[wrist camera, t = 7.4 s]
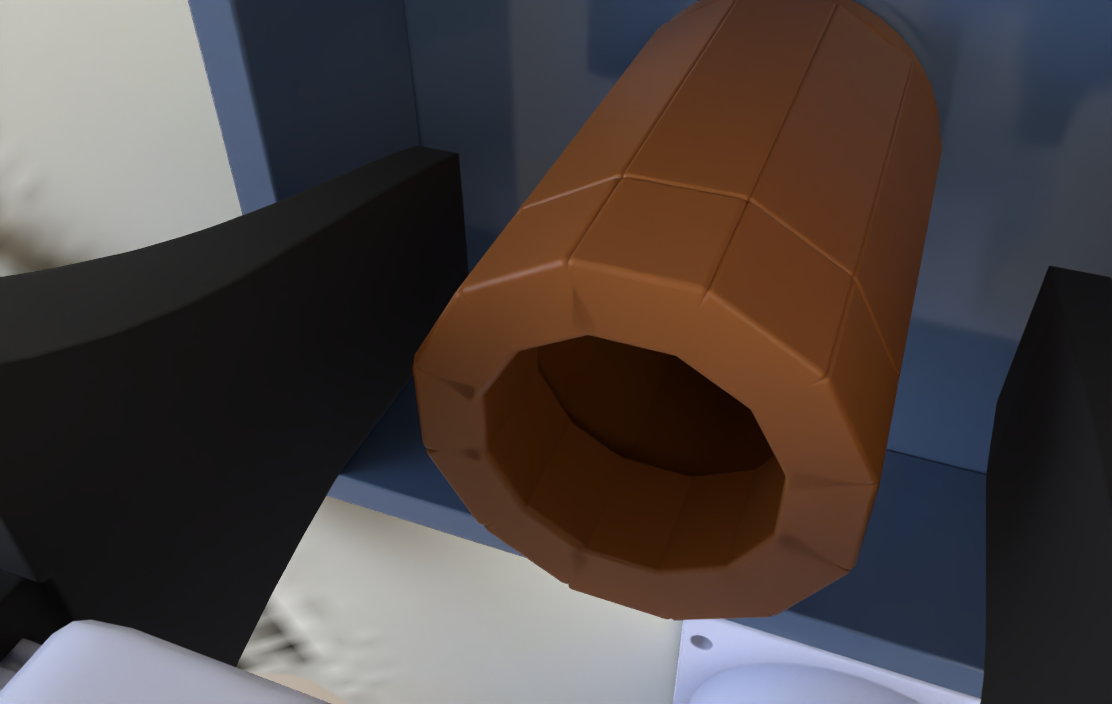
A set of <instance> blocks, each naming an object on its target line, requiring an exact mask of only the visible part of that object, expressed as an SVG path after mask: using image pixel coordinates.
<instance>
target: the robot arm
mask: <svg viewBox="0 0 1112 704" xmlns="http://www.w3.org/2000/svg"><path fill="white" fill-rule="evenodd" d="M468 275H469V270H468V258H467V246H466V233H465V221H464V209H463V197H462V184H461V172H460V160H459V153H454V152H449V151H444V150H438V149H433V148H428V147H423V146H415V147H411V148H408V149H405V150H402V151H399V152H396V153H393V154H391V155H388V156H386V157H383V158H381V159H378V160H376V161H373V162H371V163H368V164H366V165H364V166H361V167H359V168H357V169H354V170H352V171H350V172H347V173H345V174H343V175H340V176H338V177H336V178H333V179H331V180H329V181H326V182H324V183H322V184H319V185H317V186H314V187H312V188H310V189H307V190H305V191H303V192H300V193H298V194H296V195H293V196H291V197H289V198H286V199H284V200H281V201H279V202H276V203H273V204H271V205H268V206H266V207H263V208H260V209H258V210H255V211H253V212H250V213H247V214H245V215H242V216H240V217H237V218H234V219H232V220H229V221H227V222H224V223H221V224H219V225H216V226H213V227H210V228H207V229H204V230H201V231H198V232H195V233H192V234H189V235H186V236H183V237H179V238H176V239H172V240H169V241H166V242H162V243H159V244H155V245H152V246H148V247H145V248H141V249H137V250H134V251H130V252H126V253H121V254H117V255H112V256H108V257H103V258H99V259H94V260H89V261H85V262H80V263H76V264H71V265H67V266H62V267H58V268H53V269H47V270H42V271H36V272H30V273H23V274H17V275H11V276H5V277H0V704H331V703H328V702H325V701H323V700H320V699H317V698H315V697H312V696H309V695H307V694H304V693H302V692H299V691H296V690H294V689H291V688H289V687H286V686H283V685H281V684H278V683H275V682H273V681H270V680H267V679H265V678H262V677H260V676H257V675H254V674H252V673H249V672H246V671H244V670H241V669H239V668H236V666H237V663H238V661H239V659H240V657H241V655H242V653H243V651H244V649H245V647H246V645H247V643H248V641H249V639H250V637H251V635H252V633H253V631H254V629H255V627H256V625H257V623H258V621H259V619H260V617H261V615H262V613H263V611H264V609H265V607H266V605H267V603H268V601H269V599H270V597H271V595H272V592H273V591H274V589H275V587H276V585H277V583H278V581H279V580H280V578H281V576H282V574H283V572H284V570H285V568H286V567H287V565H288V563H289V561H290V559H291V557H292V555H293V554H294V552H295V550H296V548H297V546H298V544H299V542H300V541H301V539H302V537H303V535H304V533H305V532H306V530H307V528H308V526H309V525H310V523H311V521H312V520H313V518H314V516H315V514H316V513H317V511H318V509H319V507H320V506H321V504H322V502H323V501H324V499H325V497H326V495H327V494H328V492H329V490H330V489H331V487H332V485H333V483H334V482H335V480H336V478H337V477H338V475H339V474H340V472H341V471H342V470H343V468H344V467H345V465H346V464H347V462H348V461H349V459H350V458H351V456H352V455H353V453H354V452H355V451H356V449H357V448H358V447H359V445H360V444H361V443H362V441H363V440H364V439H365V437H366V436H367V435H368V433H369V432H370V431H371V429H372V428H373V427H374V425H375V424H376V423H377V421H378V420H379V419H380V417H381V416H382V415H383V413H384V412H385V411H386V409H387V408H388V407H389V405H390V404H391V403H392V401H393V400H394V399H395V397H396V396H397V395H398V393H399V392H400V391H401V389H402V388H403V387H404V385H405V384H406V383H407V381H408V380H409V379H410V377H411V376H412V375H413V370H412V368H413V363H414V356H415V353H416V352H417V350H418V349H419V347H420V346H421V344H422V343H423V341H424V340H425V338H426V337H427V335H428V334H429V332H430V331H431V329H432V328H433V326H434V324H435V323H436V321H437V320H438V318H439V317H440V315H441V314H442V312H443V311H444V309H445V308H446V306H447V305H448V303H449V302H450V300H451V299H452V297H453V295H454V294H455V292H456V291H457V290H458V288H459V287H460V286H461V284H462V283H463V282H464V281H465V279H466V278H467V277H468ZM673 704H1112V280H1111V278H1110V277H1107V276H1102V275H1097V274H1092V273H1086V272H1081V271H1076V270H1070V269H1065V268H1060V267H1055V266H1049V267H1048V270H1047V272H1046V275H1045V277H1044V280H1043V283H1042V285H1041V288H1040V290H1039V293H1038V296H1037V298H1036V301H1035V303H1034V306H1033V309H1032V311H1031V314H1030V317H1029V319H1028V322H1027V324H1026V327H1025V330H1024V332H1023V335H1022V337H1021V340H1020V343H1019V345H1018V348H1017V350H1016V353H1015V356H1014V358H1013V361H1012V364H1011V366H1010V369H1009V371H1008V374H1007V377H1006V379H1005V382H1004V384H1003V387H1002V390H1001V392H1000V395H999V397H998V400H997V404H996V411H995V417H994V424H993V430H992V437H991V443H990V451H989V458H988V465H987V472H986V642H985V661H984V677H983V686H982V694H981V699H979V698H975V697H972V696H969V695H966V694H962V693H959V692H956V691H953V690H950V689H946V688H943V687H940V686H937V685H934V684H930V683H927V682H924V681H921V680H917V679H914V678H911V677H908V676H905V675H901V674H898V673H895V672H892V671H888V670H885V669H882V668H879V667H876V666H872V665H869V664H866V663H863V662H860V661H856V660H853V659H850V658H847V657H843V656H840V655H837V654H834V653H831V652H827V651H824V650H821V649H818V648H814V647H811V646H808V645H805V644H802V643H798V642H795V641H792V640H789V639H786V638H782V637H779V636H776V635H773V634H769V633H766V632H763V631H760V630H757V629H753V628H750V627H747V626H744V625H740V624H737V623H734V622H731V621H728V620H724V619H702V620H683V625H682V633H681V641H680V649H679V657H678V665H677V673H676V681H675V689H674V697H673Z"/></svg>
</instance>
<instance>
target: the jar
mask: <svg viewBox="0 0 1112 704" xmlns="http://www.w3.org/2000/svg"><path fill="white" fill-rule="evenodd" d="M941 153H942V139H941V136H940V123H939V114H938V107H937V103H936V100H935V96H934V92H933V89H932V86H931V84H930V81H929V79H928V77H927V75H926V72H925V70H924V68H923V66H922V65H921V63H920V62H919V60H918V58H917V57H916V55H915V54H914V52H913V51H912V49H911V48H910V47H909V46H908V44H907V43H906V42H905V41H904V40H903V39H902V37H901V36H900V35H899V34H898V33H897V32H896V31H895V30H894V29H893V28H892V27H890V26H889V25H888V24H887V23H886V22H885V21H884V20H883V19H881V18H880V17H879V16H877V15H876V14H874V13H873V12H871V11H870V10H868V9H867V8H865V7H864V6H862V5H860V4H858V3H856V2H854V1H852V0H699V1H698V2H696V3H694V4H692V5H690V6H689V7H687V8H686V9H684V10H683V11H682V12H680V13H679V14H677V15H676V16H675V17H673V18H672V19H671V20H670V21H669V22H667V23H665V24H663V25H662V26H661V27H660V28H658V29H657V30H656V32H655V33H654V34H653V36H652V37H651V38H650V39H649V41H648V42H647V43H646V45H645V46H644V47H643V49H642V50H641V51H640V53H639V54H638V55H637V56H636V58H635V59H634V60H633V62H632V63H631V64H630V66H629V67H628V68H627V69H626V71H625V72H624V73H623V75H622V76H621V77H620V79H619V80H618V81H617V82H616V84H615V85H614V86H613V88H612V89H611V90H610V92H609V93H608V94H607V95H606V97H605V98H604V99H603V101H602V102H601V103H600V105H599V106H598V107H597V108H596V110H595V111H594V112H593V114H592V115H591V116H590V118H589V119H588V120H587V121H586V123H585V124H584V125H583V127H582V128H581V129H580V131H579V132H578V133H577V134H576V136H575V137H574V138H573V140H572V141H571V142H570V144H569V145H568V146H567V147H566V149H565V150H564V151H563V153H562V154H561V155H560V157H559V158H558V159H557V160H556V162H555V163H554V164H553V166H552V167H551V168H550V170H549V171H548V172H547V174H546V175H545V176H544V177H543V179H542V180H541V181H540V183H539V184H538V185H537V187H536V188H535V189H534V190H533V192H532V193H531V194H530V196H529V197H528V198H527V200H526V201H525V202H524V203H523V205H522V206H521V207H520V209H519V210H518V212H517V213H516V215H515V216H514V217H513V218H512V219H511V221H510V222H509V223H508V225H507V226H506V227H505V229H504V230H503V231H502V232H501V234H500V235H499V236H498V238H497V239H496V240H495V242H494V243H493V244H492V245H491V247H490V248H489V249H488V251H487V252H486V253H485V255H484V256H483V257H482V258H481V260H480V261H479V262H478V264H477V265H476V266H475V268H474V269H473V270H472V271H471V273H470V274H469V275H468V277H467V278H466V279H465V281H464V282H463V283H462V284H461V286H460V287H459V288H458V290H457V291H456V292H455V294H454V295H453V297H452V299H451V300H450V302H449V303H448V305H447V306H446V308H445V309H444V311H443V312H442V314H441V315H440V317H439V318H438V320H437V321H436V323H435V324H434V326H433V328H432V329H431V331H430V332H429V334H428V335H427V337H426V338H425V340H424V341H423V343H422V344H421V346H420V347H419V349H418V350H417V352H416V353H415V356H414V363H413V368H412V370H413V377H414V384H415V391H416V398H417V406H418V413H419V420H420V427H421V434H422V441H423V444H424V446H425V447H427V448H426V451H427V454H428V455H429V456H430V458H431V459H432V461H433V462H434V463H435V465H436V466H437V467H438V469H439V470H440V472H441V473H442V474H443V476H444V477H445V478H446V480H447V481H448V483H449V484H450V485H451V487H452V488H453V489H454V491H455V492H456V494H457V495H458V496H459V498H460V499H461V500H462V502H463V503H464V505H465V506H466V507H467V509H468V510H469V511H470V513H471V514H472V516H473V517H474V518H475V520H476V521H477V522H478V523H479V524H481V525H485V526H484V527H485V528H486V530H487V531H488V532H490V533H491V534H493V535H494V536H495V537H497V538H498V539H500V540H501V541H503V542H504V543H506V544H507V545H509V546H510V547H511V548H513V549H514V550H516V551H517V552H519V553H520V554H522V555H523V556H525V557H526V558H527V559H529V560H530V561H532V562H533V563H535V564H536V565H538V566H539V567H541V568H542V569H543V570H545V571H546V572H548V573H549V574H551V575H552V576H554V577H555V578H557V579H558V580H559V581H561V582H563V583H566V584H569V588H571V589H573V590H576V591H579V592H582V593H585V594H588V595H592V596H595V597H598V598H601V599H604V600H607V601H611V602H614V603H617V604H620V605H623V606H626V607H630V608H633V609H636V610H639V611H642V612H645V613H649V614H652V615H655V616H658V617H661V618H664V619H670V618H671V619H673V620H702V619H734V618H765V617H771V616H772V615H778V614H780V613H781V612H783V611H785V610H786V609H788V608H790V607H792V606H793V605H795V604H797V603H798V602H800V601H802V600H804V599H805V598H807V597H809V596H811V595H812V594H814V593H816V592H817V591H819V590H821V589H823V588H824V587H826V586H828V585H830V584H831V583H833V582H835V581H836V580H838V579H840V578H842V577H843V576H845V575H847V574H848V573H849V572H850V571H851V569H853V568H854V566H855V565H856V562H857V559H858V556H859V552H860V549H861V546H862V542H863V539H864V536H865V532H866V529H867V526H868V523H869V519H870V516H871V513H872V509H873V506H874V503H875V499H876V496H877V493H878V489H879V486H880V480H881V475H882V470H883V464H884V459H885V454H886V448H887V443H888V437H889V432H890V427H891V421H892V416H893V411H894V405H895V400H896V394H897V389H898V382H899V379H900V373H901V368H902V363H903V357H904V352H905V346H906V341H907V336H908V330H909V325H910V320H911V314H912V309H913V303H914V298H915V293H916V287H917V282H918V277H919V271H920V266H921V260H922V255H923V250H924V244H925V239H926V234H927V228H928V223H929V217H930V212H931V207H932V201H933V196H934V191H935V185H936V180H937V174H938V169H939V164H940V158H941Z"/></svg>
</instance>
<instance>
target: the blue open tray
mask: <svg viewBox="0 0 1112 704" xmlns="http://www.w3.org/2000/svg"><path fill="white" fill-rule="evenodd" d="M698 1H699V0H188V3H189V7H190V11H191V15H192V19H193V23H194V27H195V31H196V35H197V38H198V42H199V46H200V50H201V54H202V58H203V62H204V66H205V70H206V74H207V78H208V82H209V85H210V89H211V93H212V97H213V101H214V105H215V109H216V113H217V117H218V121H219V125H220V128H221V132H222V136H223V140H224V144H225V148H226V152H227V156H228V160H229V164H230V168H231V171H232V175H233V179H234V183H235V187H236V191H237V195H238V199H239V203H240V207H241V211H242V214H243V215H245V214H247V213H250V212H253V211H255V210H258V209H260V208H263V207H266V206H268V205H271V204H273V203H276V202H279V201H281V200H284V199H286V198H289V197H291V196H293V195H296V194H298V193H300V192H303V191H305V190H307V189H310V188H312V187H314V186H317V185H319V184H322V183H324V182H326V181H329V180H331V179H333V178H336V177H338V176H340V175H343V174H345V173H347V172H350V171H352V170H354V169H357V168H359V167H361V166H364V165H366V164H368V163H371V162H373V161H376V160H378V159H381V158H383V157H386V156H388V155H391V154H393V153H396V152H399V151H402V150H405V149H408V148H411V147H415V146H423V147H428V148H433V149H438V150H444V151H449V152H454V153H459V160H460V172H461V184H462V197H463V209H464V221H465V233H466V246H467V258H468V270H469V274H470V273H471V271H472V270H473V269H474V268H475V266H476V265H477V264H478V262H479V261H480V260H481V258H482V257H483V256H484V255H485V253H486V252H487V251H488V249H489V248H490V247H491V245H492V244H493V243H494V242H495V240H496V239H497V238H498V236H499V235H500V234H501V232H502V231H503V230H504V229H505V227H506V226H507V225H508V223H509V222H510V221H511V219H512V218H513V217H514V216H515V215H516V213H517V212H518V210H519V209H520V207H521V206H522V205H523V203H524V202H525V201H526V200H527V198H528V197H529V196H530V194H531V193H532V192H533V190H534V189H535V188H536V187H537V185H538V184H539V183H540V181H541V180H542V179H543V177H544V176H545V175H546V174H547V172H548V171H549V170H550V168H551V167H552V166H553V164H554V163H555V162H556V160H557V159H558V158H559V157H560V155H561V154H562V153H563V151H564V150H565V149H566V147H567V146H568V145H569V144H570V142H571V141H572V140H573V138H574V137H575V136H576V134H577V133H578V132H579V131H580V129H581V128H582V127H583V125H584V124H585V123H586V121H587V120H588V119H589V118H590V116H591V115H592V114H593V112H594V111H595V110H596V108H597V107H598V106H599V105H600V103H601V102H602V101H603V99H604V98H605V97H606V95H607V94H608V93H609V92H610V90H611V89H612V88H613V86H614V85H615V84H616V82H617V81H618V80H619V79H620V77H621V76H622V75H623V73H624V72H625V71H626V69H627V68H628V67H629V66H630V64H631V63H632V62H633V60H634V59H635V58H636V56H637V55H638V54H639V53H640V51H641V50H642V49H643V47H644V46H645V45H646V43H647V42H648V41H649V39H650V38H651V37H652V36H653V34H654V33H655V32H656V30H657V29H658V28H660V27H661V26H662V25H663V24H665V23H667V22H669V21H670V20H671V19H672V18H673V17H675V16H676V15H677V14H679V13H680V12H682V11H683V10H684V9H686V8H687V7H689V6H690V5H692V4H694V3H696V2H698ZM852 1H854V2H856V3H858V4H860V5H862V6H864V7H865V8H867V9H868V10H870V11H871V12H873V13H874V14H876V15H877V16H879V17H880V18H881V19H883V20H884V21H885V22H886V23H887V24H888V25H889V26H890V27H892V28H893V29H894V30H895V31H896V32H897V33H898V34H899V35H900V36H901V37H902V39H903V40H904V41H905V42H906V43H907V44H908V46H909V47H910V48H911V49H912V51H913V52H914V54H915V55H916V57H917V58H918V60H919V62H920V63H921V65H922V66H923V68H924V70H925V72H926V75H927V77H928V79H929V81H930V84H931V86H932V89H933V92H934V96H935V100H936V103H937V107H938V114H939V123H940V136H941V139H942V153H941V158H940V164H939V169H938V174H937V180H936V185H935V191H934V196H933V201H932V207H931V212H930V217H929V223H928V228H927V234H926V239H925V244H924V250H923V255H922V260H921V266H920V271H919V277H918V282H917V287H916V293H915V298H914V303H913V309H912V314H911V320H910V325H909V330H908V336H907V341H906V346H905V352H904V357H903V363H902V368H901V373H900V379H899V382H898V389H897V394H896V400H895V405H894V411H893V416H892V421H891V427H890V432H889V437H888V443H887V448H886V454H885V459H884V464H883V470H882V475H881V480H880V486H879V489H878V493H877V496H876V499H875V503H874V506H873V509H872V513H871V516H870V519H869V523H868V526H867V529H866V532H865V536H864V539H863V542H862V546H861V549H860V552H859V556H858V559H857V562H856V565H855V566H854V568H853V569H851V571H850V572H849V573H848V574H847V575H845V576H843V577H842V578H840V579H838V580H836V581H835V582H833V583H831V584H830V585H828V586H826V587H824V588H823V589H821V590H819V591H817V592H816V593H814V594H812V595H811V596H809V597H807V598H805V599H804V600H802V601H800V602H798V603H797V604H795V605H793V606H792V607H790V608H788V609H786V610H785V611H783V612H781V613H780V614H778V615H772V616H771V617H765V618H734V619H724V620H728V621H731V622H734V623H737V624H740V625H744V626H747V627H750V628H753V629H757V630H760V631H763V632H766V633H769V634H773V635H776V636H779V637H782V638H786V639H789V640H792V641H795V642H798V643H802V644H805V645H808V646H811V647H814V648H818V649H821V650H824V651H827V652H831V653H834V654H837V655H840V656H843V657H847V658H850V659H853V660H856V661H860V662H863V663H866V664H869V665H872V666H876V667H879V668H882V669H885V670H888V671H892V672H895V673H898V674H901V675H905V676H908V677H911V678H914V679H917V680H921V681H924V682H927V683H930V684H934V685H937V686H940V687H943V688H946V689H950V690H953V691H956V692H959V693H962V694H966V695H969V696H972V697H975V698H979V699H981V694H982V686H983V677H984V661H985V642H986V472H987V465H988V458H989V451H990V443H991V437H992V430H993V424H994V417H995V411H996V404H997V400H998V397H999V395H1000V392H1001V390H1002V387H1003V384H1004V382H1005V379H1006V377H1007V374H1008V371H1009V369H1010V366H1011V364H1012V361H1013V358H1014V356H1015V353H1016V350H1017V348H1018V345H1019V343H1020V340H1021V337H1022V335H1023V332H1024V330H1025V327H1026V324H1027V322H1028V319H1029V317H1030V314H1031V311H1032V309H1033V306H1034V303H1035V301H1036V298H1037V296H1038V293H1039V290H1040V288H1041V285H1042V283H1043V280H1044V277H1045V275H1046V272H1047V270H1048V267H1049V266H1055V267H1060V268H1065V269H1070V270H1076V271H1081V272H1086V273H1092V274H1097V275H1102V276H1107V277H1110V278H1111V280H1112V0H852ZM426 448H427V447H425V446H424V444H423V441H422V434H421V427H420V420H419V413H418V406H417V398H416V391H415V384H414V377H413V375H412V376H411V377H410V379H409V380H408V381H407V383H406V384H405V385H404V387H403V388H402V389H401V391H400V392H399V393H398V395H397V396H396V397H395V399H394V400H393V401H392V403H391V404H390V405H389V407H388V408H387V409H386V411H385V412H384V413H383V415H382V416H381V417H380V419H379V420H378V421H377V423H376V424H375V425H374V427H373V428H372V429H371V431H370V432H369V433H368V435H367V436H366V437H365V439H364V440H363V441H362V443H361V444H360V445H359V447H358V448H357V449H356V451H355V452H354V453H353V455H352V456H351V458H350V459H349V461H348V462H347V464H346V465H345V467H344V468H343V470H342V471H341V472H340V474H339V475H338V477H337V478H336V480H335V482H334V483H333V485H332V487H331V489H330V490H329V492H328V494H327V495H326V496H329V497H332V498H335V499H338V500H341V501H345V502H348V503H351V504H354V505H358V506H361V507H364V508H367V509H370V510H374V511H377V512H380V513H383V514H386V515H390V516H393V517H396V518H399V519H403V520H406V521H409V522H412V523H415V524H419V525H422V526H425V527H428V528H432V529H435V530H438V531H441V532H444V533H448V534H451V535H454V536H457V537H461V538H464V539H467V540H470V541H473V542H477V543H480V544H483V545H486V546H489V547H493V548H496V549H499V550H502V551H506V552H509V553H512V554H515V555H518V556H522V557H525V556H523V555H522V554H520V553H519V552H517V551H516V550H514V549H513V548H511V547H510V546H509V545H507V544H506V543H504V542H503V541H501V540H500V539H498V538H497V537H495V536H494V535H493V534H491V533H490V532H488V531H487V530H486V528H485V527H484V526H485V525H481V524H479V523H478V522H477V521H476V520H475V518H474V517H473V516H472V514H471V513H470V511H469V510H468V509H467V507H466V506H465V505H464V503H463V502H462V500H461V499H460V498H459V496H458V495H457V494H456V492H455V491H454V489H453V488H452V487H451V485H450V484H449V483H448V481H447V480H446V478H445V477H444V476H443V474H442V473H441V472H440V470H439V469H438V467H437V466H436V465H435V463H434V462H433V461H432V459H431V458H430V456H429V455H428V454H427V451H426ZM525 558H526V557H525Z"/></svg>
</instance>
